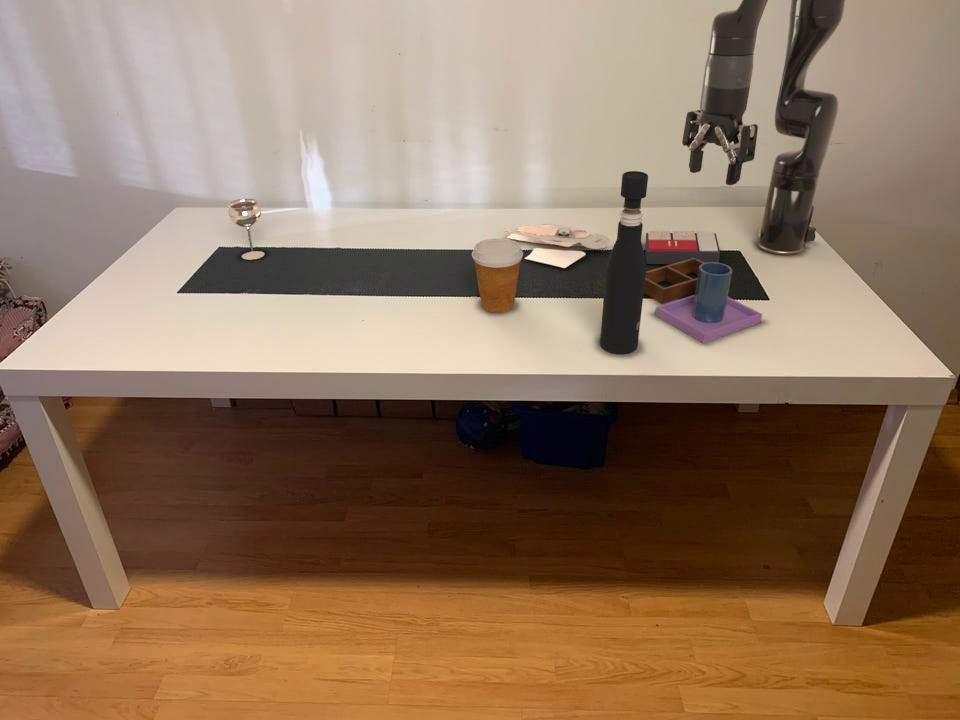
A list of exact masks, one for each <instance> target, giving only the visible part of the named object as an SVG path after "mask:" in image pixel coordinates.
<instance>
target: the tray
mask: <svg viewBox="0 0 960 720" xmlns="http://www.w3.org/2000/svg"><path fill="white" fill-rule="evenodd" d="M694 297H695V294H691V295H688V296H685V297H682V298H679V299H676V300H672V301H669V302H666V303H663V304H660V305H658V306H657V305H656V308H655V316H656V317H658V318H659V319H661V320H663V321H665V322H667V323H668V324H670V325H672V326H673V327H675V328H676V329H678V330H680V331H681V332H683V333H685V334H687V335H688V336H690V337H692V338H694V339H695V340H697V341H699V342H700V343H702V344H705V343H707V342H711V341H714V340H716V339H719V338H722V337H724V336H727V335H730V334H733V333H735V332H738V331H742V330H745V329H746V328H749V327H752V326H756V325H757V324H761V322H762V317H763V313H761V312H759V311H757V310H756V309H753V308H751V307H749V306H747V305H745V304H744V303H741V302H740V301H737V300H736V299H733V298H731V297H730V296H728V298H727V303H726V309H725V314H724V318H723V320H722V321H721V322H718V323H704V322H700V321H698V320H696V319H695V318H693V316H692V310H693V303H694Z"/></svg>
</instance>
